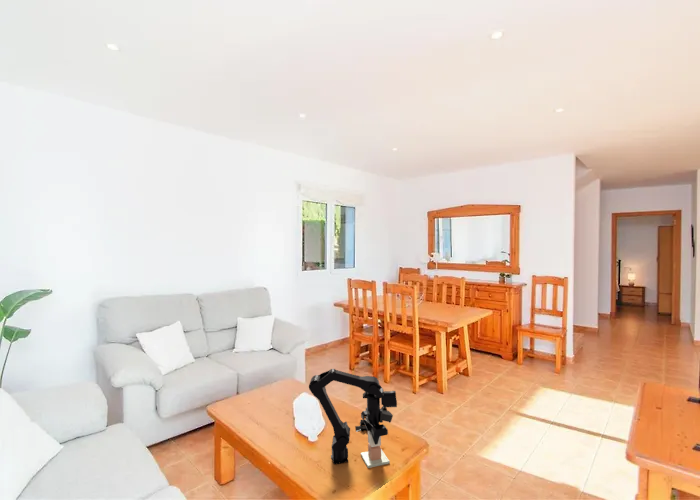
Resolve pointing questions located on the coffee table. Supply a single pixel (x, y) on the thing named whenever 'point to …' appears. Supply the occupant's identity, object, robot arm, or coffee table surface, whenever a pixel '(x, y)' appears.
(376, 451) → the terracotta brick
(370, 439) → the cream brick
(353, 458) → the coffee table surface
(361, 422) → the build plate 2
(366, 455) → the plate
